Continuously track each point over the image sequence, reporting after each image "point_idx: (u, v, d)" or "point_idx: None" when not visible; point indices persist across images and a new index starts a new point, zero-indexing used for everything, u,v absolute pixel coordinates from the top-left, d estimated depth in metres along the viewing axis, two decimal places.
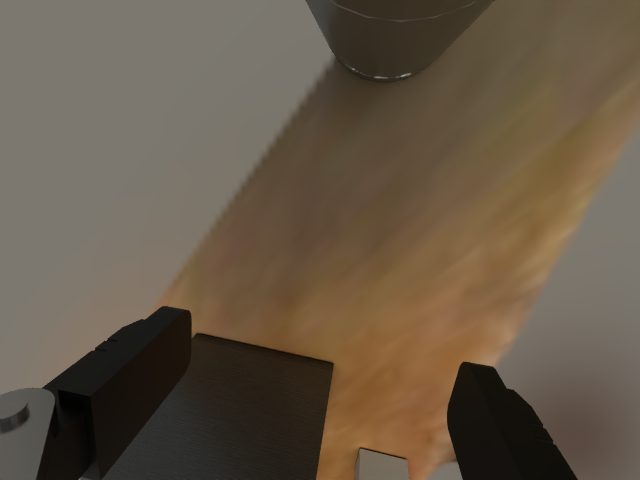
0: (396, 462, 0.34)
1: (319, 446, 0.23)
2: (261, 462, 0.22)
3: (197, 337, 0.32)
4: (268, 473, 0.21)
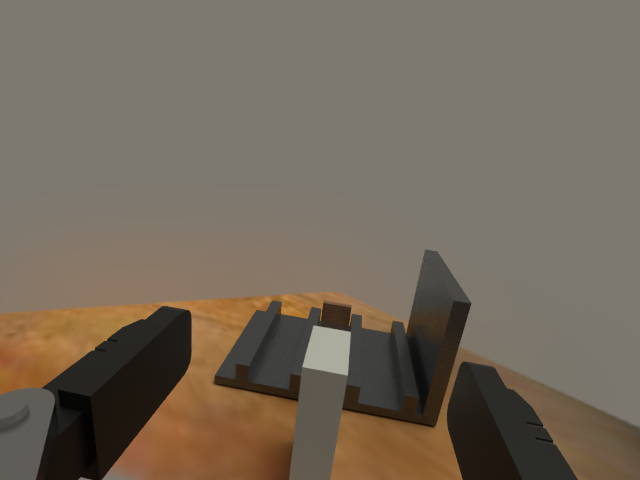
0: None
1: (456, 353, 0.30)
2: None
3: None
4: None
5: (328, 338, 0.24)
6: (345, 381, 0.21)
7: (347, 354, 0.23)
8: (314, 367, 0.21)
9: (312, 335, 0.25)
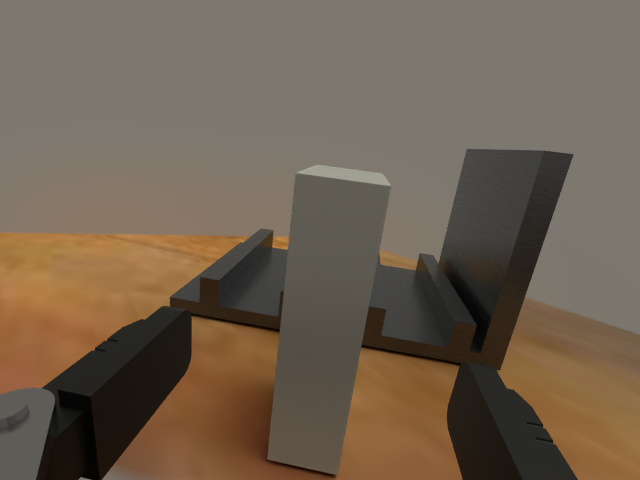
0: None
1: (540, 247, 0.19)
2: None
3: None
4: None
5: (344, 170, 0.13)
6: (385, 201, 0.10)
7: (383, 178, 0.12)
8: (320, 175, 0.10)
9: (315, 166, 0.14)
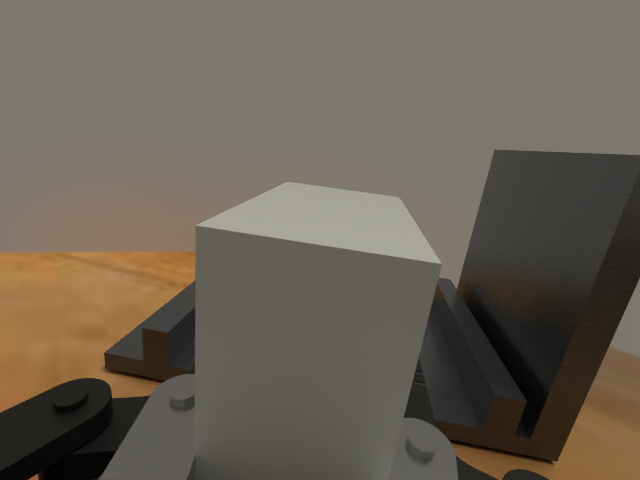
0: None
1: (628, 298, 0.13)
2: None
3: None
4: None
5: (331, 196, 0.07)
6: (425, 301, 0.04)
7: (408, 220, 0.06)
8: (260, 230, 0.04)
9: (279, 188, 0.07)
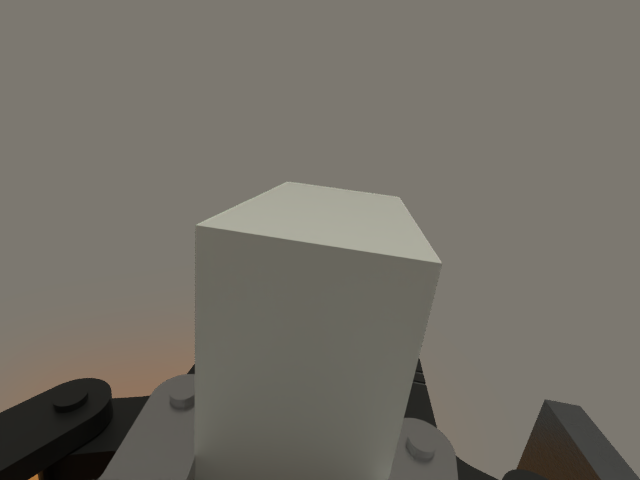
0: None
1: None
2: None
3: None
4: None
5: (331, 196, 0.07)
6: (425, 300, 0.04)
7: (408, 220, 0.06)
8: (261, 230, 0.04)
9: (279, 188, 0.07)
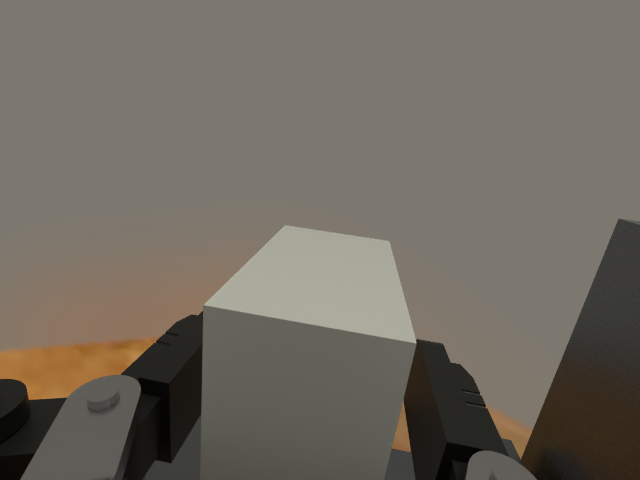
0: None
1: None
2: None
3: None
4: None
5: (325, 246, 0.08)
6: (403, 373, 0.04)
7: (393, 279, 0.06)
8: (260, 308, 0.05)
9: (277, 238, 0.08)
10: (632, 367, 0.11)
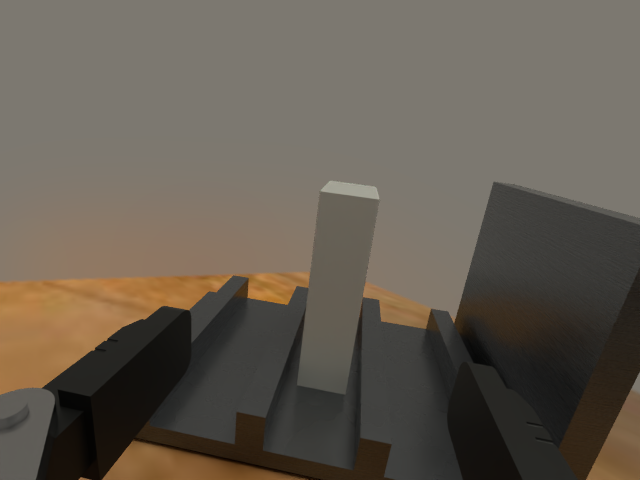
0: None
1: (636, 372, 0.12)
2: None
3: None
4: None
5: (349, 186, 0.20)
6: (376, 209, 0.16)
7: (375, 192, 0.18)
8: (335, 192, 0.16)
9: (329, 183, 0.20)
10: (492, 249, 0.22)
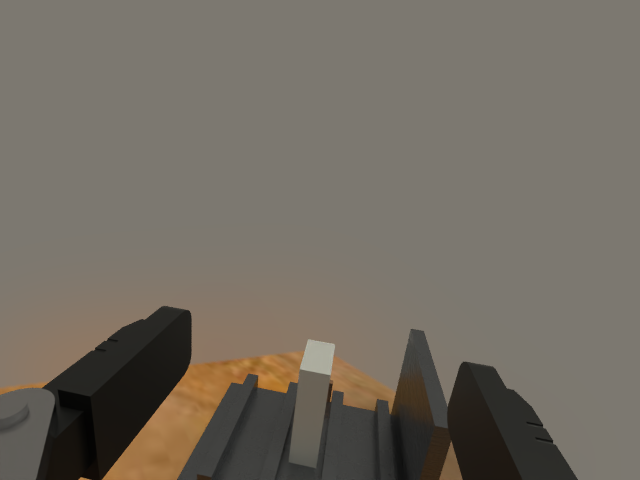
0: None
1: (438, 478, 0.27)
2: None
3: None
4: None
5: (318, 349, 0.34)
6: (329, 379, 0.31)
7: (331, 360, 0.33)
8: (307, 369, 0.31)
9: (307, 346, 0.34)
10: (406, 375, 0.37)
